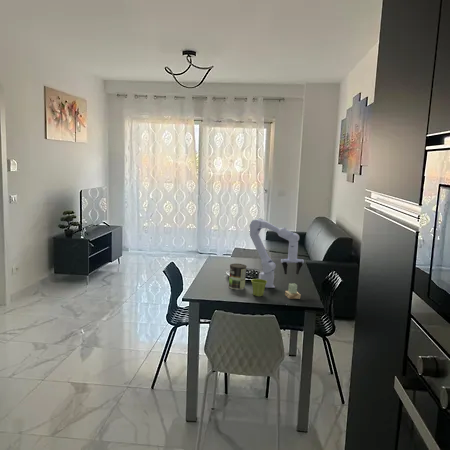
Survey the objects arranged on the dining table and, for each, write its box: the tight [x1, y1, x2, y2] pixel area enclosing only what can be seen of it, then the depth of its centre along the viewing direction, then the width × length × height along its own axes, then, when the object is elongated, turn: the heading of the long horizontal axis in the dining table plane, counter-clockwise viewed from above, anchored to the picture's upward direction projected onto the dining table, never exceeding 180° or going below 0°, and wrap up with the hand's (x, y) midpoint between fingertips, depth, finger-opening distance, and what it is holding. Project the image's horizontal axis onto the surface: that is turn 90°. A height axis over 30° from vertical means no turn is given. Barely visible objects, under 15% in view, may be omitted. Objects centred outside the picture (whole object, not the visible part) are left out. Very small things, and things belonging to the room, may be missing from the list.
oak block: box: [284, 290, 301, 300], centre depth 256 cm, size 7×7×3 cm
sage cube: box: [287, 282, 298, 293], centre depth 256 cm, size 4×4×5 cm
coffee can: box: [228, 263, 247, 291], centre depth 267 cm, size 10×10×14 cm
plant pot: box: [250, 278, 267, 297], centre depth 254 cm, size 9×9×9 cm
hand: (291, 274), depth 268 cm, fingers open, 7 cm apart
